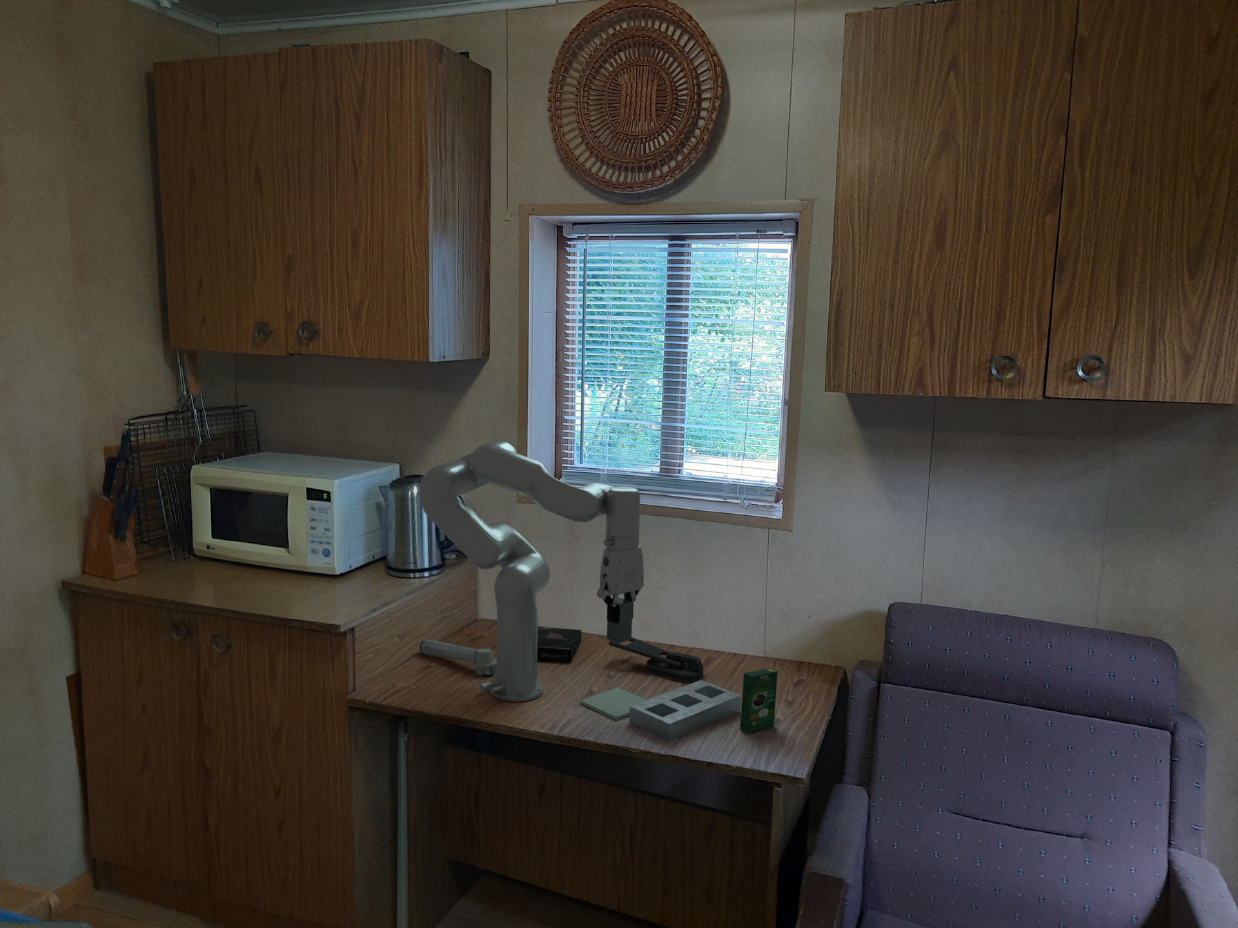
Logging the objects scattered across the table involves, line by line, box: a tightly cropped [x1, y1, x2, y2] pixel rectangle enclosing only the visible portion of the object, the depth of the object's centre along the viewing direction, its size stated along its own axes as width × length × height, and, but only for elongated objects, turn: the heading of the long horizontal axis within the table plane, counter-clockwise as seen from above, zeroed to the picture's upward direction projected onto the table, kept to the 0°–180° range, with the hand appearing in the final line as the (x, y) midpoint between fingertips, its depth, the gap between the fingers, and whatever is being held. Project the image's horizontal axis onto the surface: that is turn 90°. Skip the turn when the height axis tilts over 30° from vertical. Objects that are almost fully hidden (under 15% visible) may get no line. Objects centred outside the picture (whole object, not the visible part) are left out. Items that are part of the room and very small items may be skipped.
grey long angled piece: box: [419, 639, 497, 676], centre depth 234 cm, size 5×7×25 cm
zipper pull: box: [608, 636, 704, 684], centre depth 234 cm, size 9×7×25 cm
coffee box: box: [739, 667, 779, 734], centre depth 200 cm, size 8×3×13 cm, turn 123°
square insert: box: [606, 597, 634, 644], centre depth 208 cm, size 4×4×9 cm
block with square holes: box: [628, 679, 742, 742], centre depth 205 cm, size 24×12×4 cm, turn 134°
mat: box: [580, 687, 647, 721], centre depth 211 cm, size 12×12×1 cm
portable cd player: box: [537, 626, 582, 664], centre depth 246 cm, size 16×17×4 cm
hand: (619, 619), depth 208 cm, fingers closed on square insert, 4 cm apart
